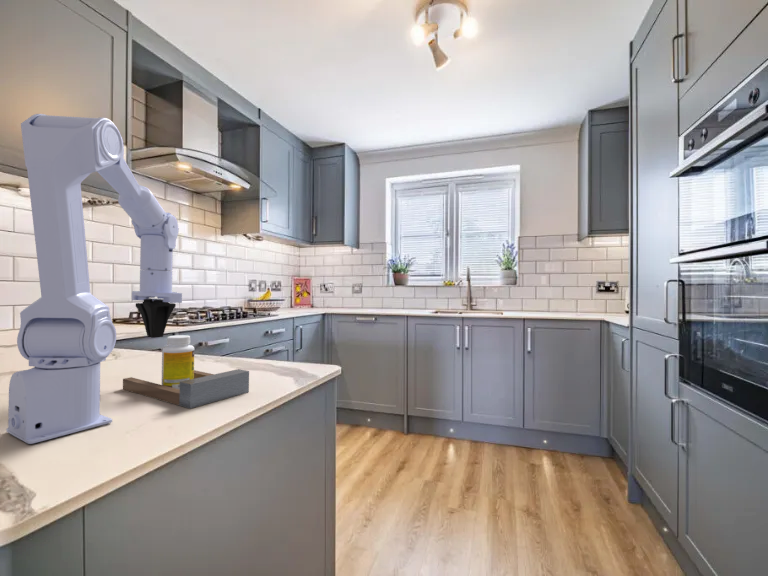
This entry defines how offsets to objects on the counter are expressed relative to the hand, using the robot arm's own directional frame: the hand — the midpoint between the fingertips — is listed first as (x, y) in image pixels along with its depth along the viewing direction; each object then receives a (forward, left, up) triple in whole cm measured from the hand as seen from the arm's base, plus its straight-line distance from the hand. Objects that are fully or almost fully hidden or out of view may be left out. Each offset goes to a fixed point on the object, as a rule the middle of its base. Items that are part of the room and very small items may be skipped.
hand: (155, 336), depth 79 cm
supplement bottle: (0, -8, -10) cm, 12 cm away
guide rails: (0, -9, -9) cm, 13 cm away
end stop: (0, -20, -9) cm, 22 cm away
